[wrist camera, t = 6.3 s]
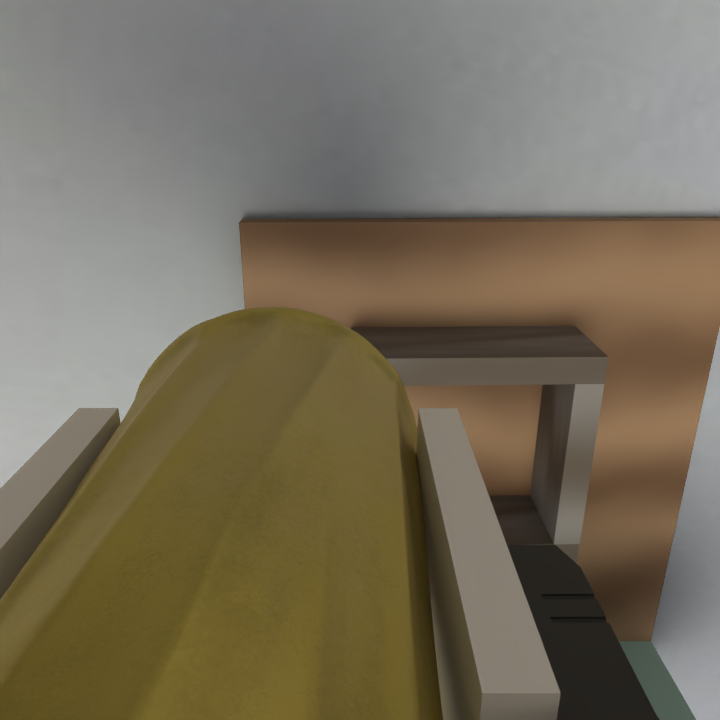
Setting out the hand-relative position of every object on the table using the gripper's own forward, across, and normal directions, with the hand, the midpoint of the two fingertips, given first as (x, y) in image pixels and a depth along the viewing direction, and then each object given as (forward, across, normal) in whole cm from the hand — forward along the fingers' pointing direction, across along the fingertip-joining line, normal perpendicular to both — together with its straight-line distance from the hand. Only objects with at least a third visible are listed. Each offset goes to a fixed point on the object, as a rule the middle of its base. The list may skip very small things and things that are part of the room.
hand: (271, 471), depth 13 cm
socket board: (+18, +8, -10) cm, 22 cm away
